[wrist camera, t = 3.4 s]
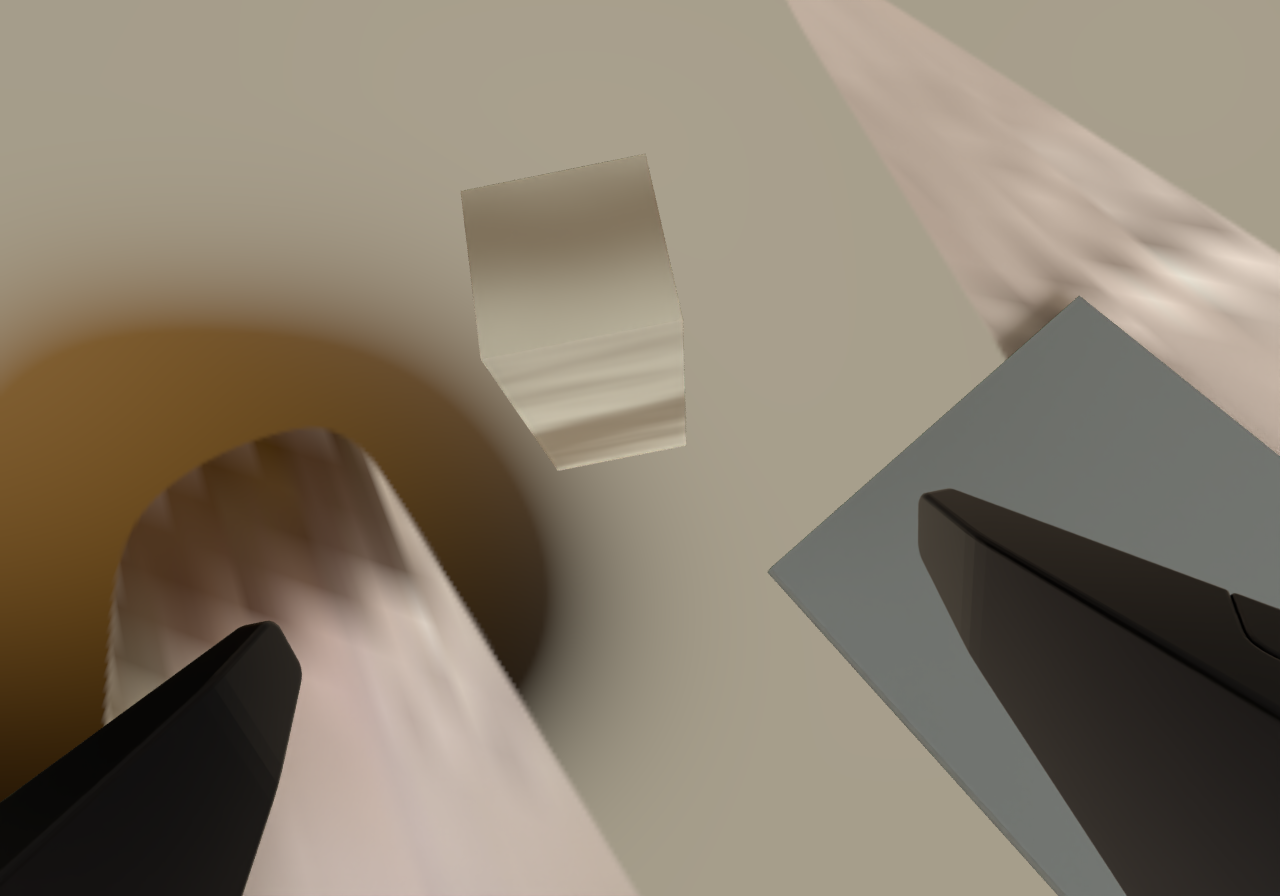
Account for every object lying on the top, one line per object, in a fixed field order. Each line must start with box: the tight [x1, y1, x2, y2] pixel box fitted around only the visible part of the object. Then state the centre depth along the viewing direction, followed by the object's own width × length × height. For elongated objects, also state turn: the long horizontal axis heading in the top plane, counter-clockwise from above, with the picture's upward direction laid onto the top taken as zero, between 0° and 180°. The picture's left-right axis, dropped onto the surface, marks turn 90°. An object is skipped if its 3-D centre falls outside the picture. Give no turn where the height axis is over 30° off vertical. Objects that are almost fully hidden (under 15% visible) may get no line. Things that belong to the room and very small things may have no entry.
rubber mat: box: [768, 296, 1280, 896], centre depth 20 cm, size 14×14×1 cm
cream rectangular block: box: [461, 154, 686, 471], centre depth 20 cm, size 4×4×9 cm
